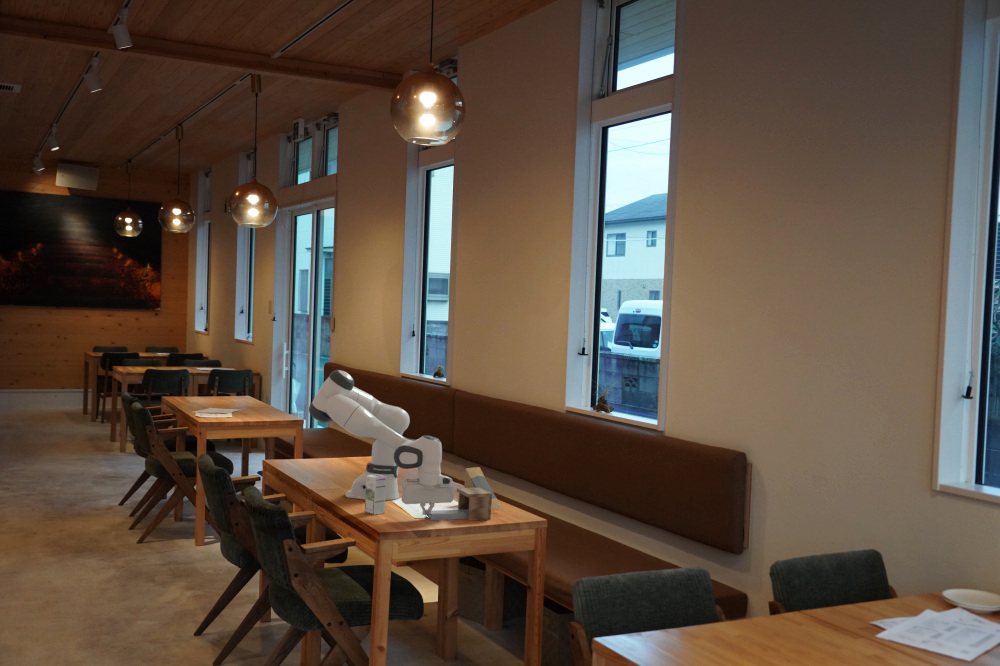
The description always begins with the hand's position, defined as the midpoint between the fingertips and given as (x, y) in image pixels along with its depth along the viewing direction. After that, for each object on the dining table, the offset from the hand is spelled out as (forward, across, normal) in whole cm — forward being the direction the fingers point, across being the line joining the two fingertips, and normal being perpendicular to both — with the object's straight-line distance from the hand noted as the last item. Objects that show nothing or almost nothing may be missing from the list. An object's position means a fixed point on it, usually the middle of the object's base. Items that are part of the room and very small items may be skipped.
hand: (426, 514), depth 331 cm
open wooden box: (+2, +20, 0) cm, 20 cm away
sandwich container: (+2, +32, +18) cm, 37 cm away
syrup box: (+2, -16, +14) cm, 21 cm away
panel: (+2, +12, +1) cm, 12 cm away
